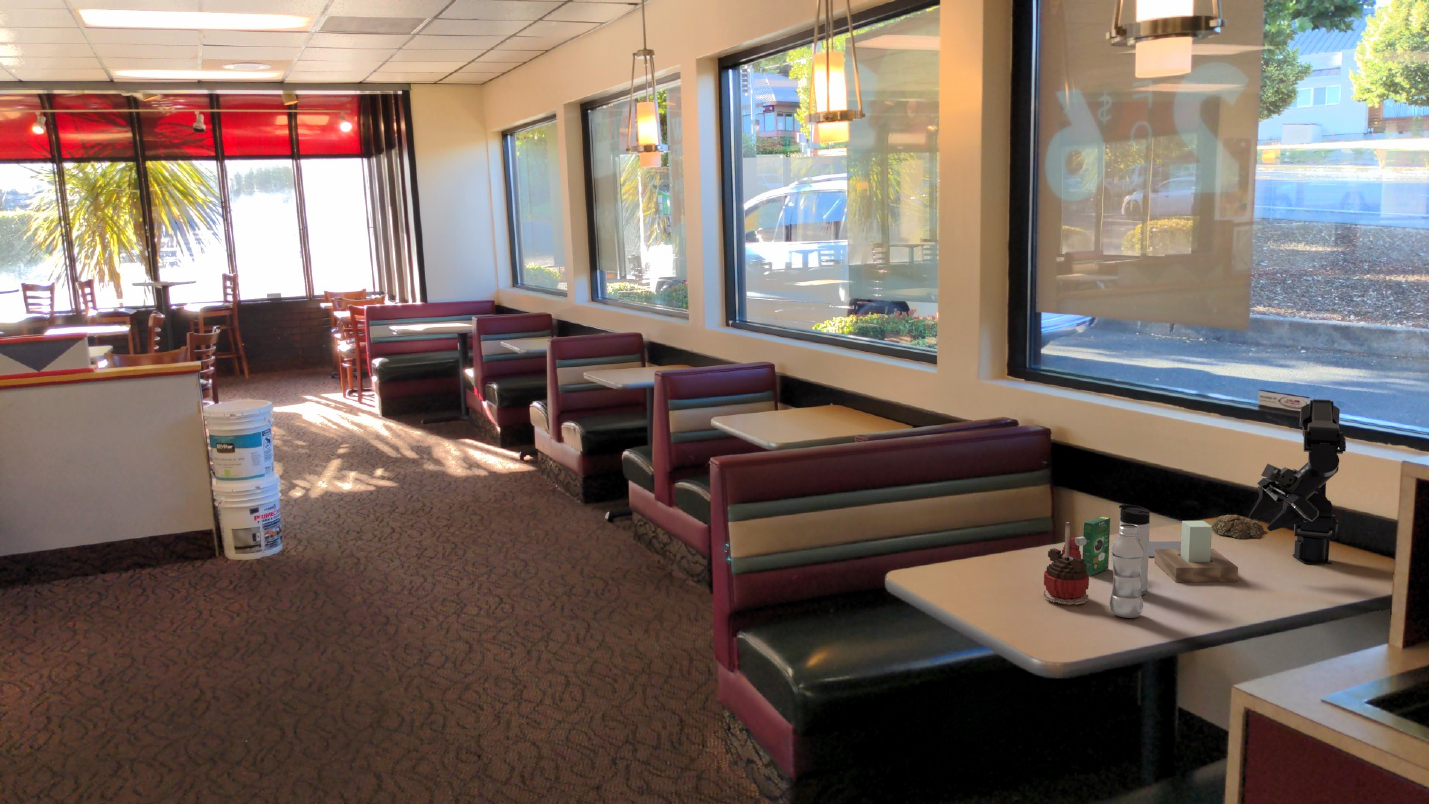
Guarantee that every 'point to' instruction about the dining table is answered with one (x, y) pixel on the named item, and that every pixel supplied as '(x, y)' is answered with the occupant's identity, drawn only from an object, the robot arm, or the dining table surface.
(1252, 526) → the brown rock
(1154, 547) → the mat
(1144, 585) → the travel mug
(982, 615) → the dining table surface
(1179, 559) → the holder
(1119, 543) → the plastic bottle
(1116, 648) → the dining table surface
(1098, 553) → the coffee box
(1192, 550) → the block
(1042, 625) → the dining table surface
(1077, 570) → the cake
